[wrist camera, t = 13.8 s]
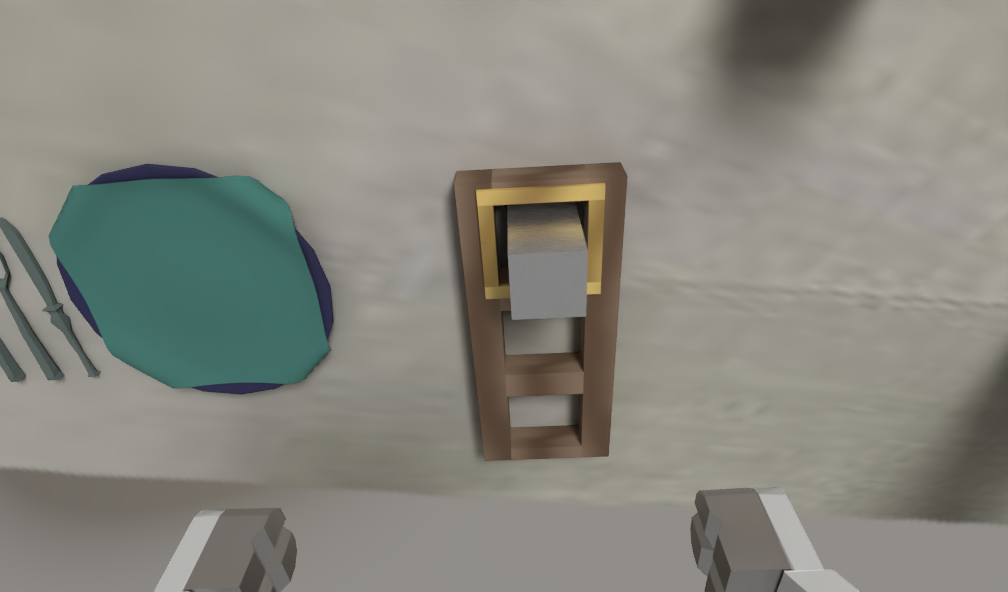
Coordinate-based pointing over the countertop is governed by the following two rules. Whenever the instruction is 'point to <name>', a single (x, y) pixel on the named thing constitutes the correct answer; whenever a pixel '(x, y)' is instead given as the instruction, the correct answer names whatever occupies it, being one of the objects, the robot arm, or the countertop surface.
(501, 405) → the walnut rail
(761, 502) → the robot arm
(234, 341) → the cutlery set
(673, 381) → the countertop surface
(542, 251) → the steel block
